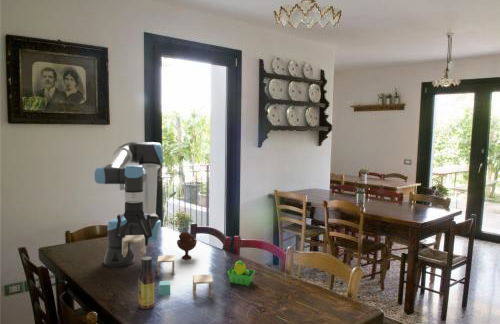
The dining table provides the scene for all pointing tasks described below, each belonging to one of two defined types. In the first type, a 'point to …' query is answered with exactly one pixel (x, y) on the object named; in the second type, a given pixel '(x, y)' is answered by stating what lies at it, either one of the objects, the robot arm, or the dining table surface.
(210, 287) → the cover
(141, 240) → the cover
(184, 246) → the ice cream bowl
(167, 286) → the teal cube
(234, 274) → the fruit basket
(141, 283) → the sauce bottle
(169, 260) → the cover
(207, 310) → the dining table surface
